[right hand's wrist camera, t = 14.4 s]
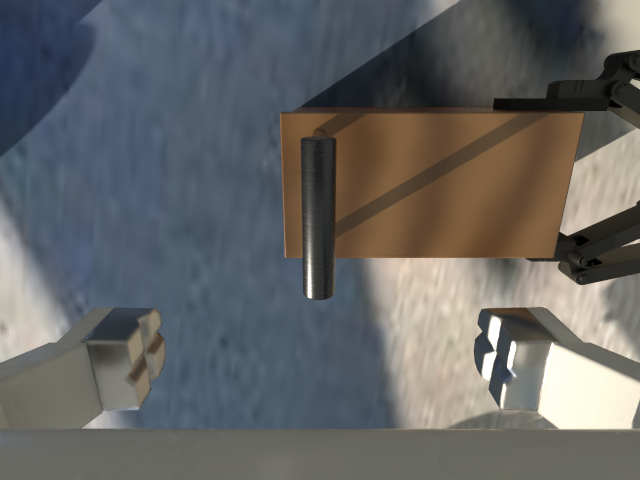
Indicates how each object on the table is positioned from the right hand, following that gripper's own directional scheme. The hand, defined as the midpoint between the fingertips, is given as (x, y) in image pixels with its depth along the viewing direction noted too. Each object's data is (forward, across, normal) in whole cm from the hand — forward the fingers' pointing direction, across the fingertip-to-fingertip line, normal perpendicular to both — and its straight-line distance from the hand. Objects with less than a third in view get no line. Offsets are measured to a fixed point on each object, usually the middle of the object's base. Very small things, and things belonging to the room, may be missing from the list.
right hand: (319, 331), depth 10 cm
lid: (+17, +7, 0) cm, 18 cm away
